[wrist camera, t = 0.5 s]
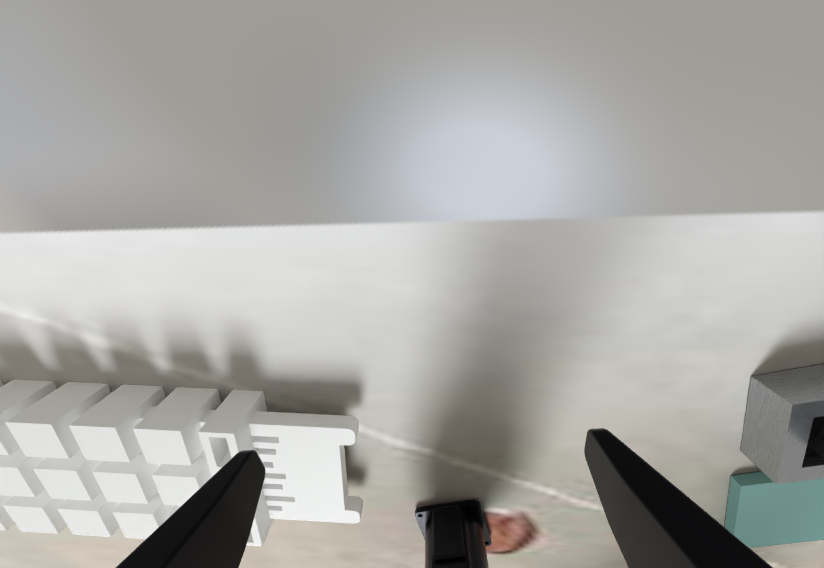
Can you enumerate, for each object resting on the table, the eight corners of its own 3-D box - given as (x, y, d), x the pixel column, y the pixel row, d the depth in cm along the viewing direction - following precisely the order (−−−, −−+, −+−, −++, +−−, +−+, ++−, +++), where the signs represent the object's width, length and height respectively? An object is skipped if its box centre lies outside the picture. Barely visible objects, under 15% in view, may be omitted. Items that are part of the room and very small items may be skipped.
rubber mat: (826, 526, 30) (839, 538, 29) (722, 537, 32) (731, 549, 31) (847, 459, 27) (861, 470, 26) (730, 475, 28) (741, 486, 27)
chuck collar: (848, 435, 26) (898, 468, 23) (740, 450, 27) (776, 484, 24) (872, 355, 23) (932, 382, 21) (751, 376, 24) (792, 404, 22)
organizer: (-120, 415, 24) (348, 439, 23) (-34, 374, 28) (361, 392, 27) (-31, 528, 29) (356, 552, 28) (30, 477, 33) (366, 496, 32)
